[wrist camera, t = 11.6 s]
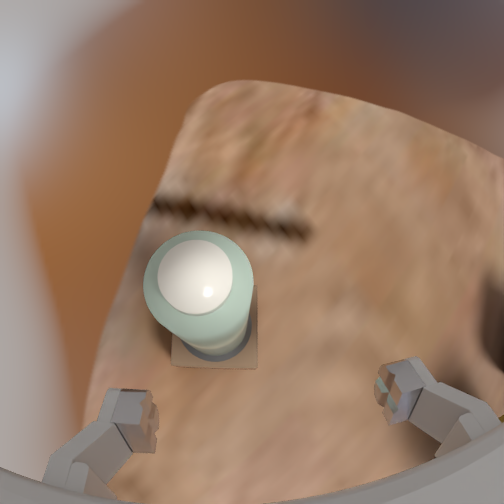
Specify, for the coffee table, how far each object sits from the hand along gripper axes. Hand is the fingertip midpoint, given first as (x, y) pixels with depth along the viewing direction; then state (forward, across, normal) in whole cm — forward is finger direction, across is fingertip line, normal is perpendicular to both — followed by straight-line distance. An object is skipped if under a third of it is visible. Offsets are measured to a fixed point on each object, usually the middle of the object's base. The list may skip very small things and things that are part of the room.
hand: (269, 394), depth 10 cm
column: (+11, +2, +4) cm, 12 cm away
